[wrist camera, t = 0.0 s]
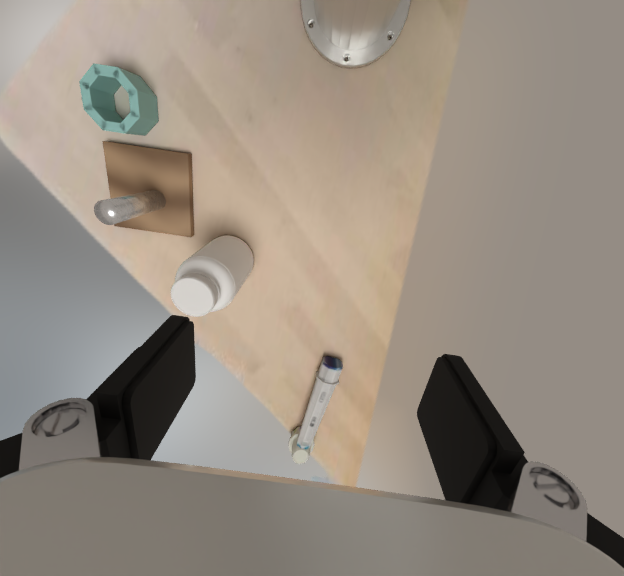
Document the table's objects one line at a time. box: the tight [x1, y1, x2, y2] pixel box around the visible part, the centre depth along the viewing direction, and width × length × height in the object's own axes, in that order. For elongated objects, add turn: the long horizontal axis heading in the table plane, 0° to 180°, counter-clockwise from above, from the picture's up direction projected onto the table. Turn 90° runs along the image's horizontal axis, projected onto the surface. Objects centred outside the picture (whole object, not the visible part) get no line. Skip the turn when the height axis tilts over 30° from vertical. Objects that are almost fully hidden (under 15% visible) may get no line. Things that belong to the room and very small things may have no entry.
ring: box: [79, 64, 158, 136], centre depth 38 cm, size 7×7×4 cm
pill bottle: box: [171, 235, 254, 317], centre depth 42 cm, size 8×8×15 cm
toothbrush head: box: [288, 356, 343, 464], centre depth 59 cm, size 5×7×25 cm
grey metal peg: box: [94, 190, 166, 225], centre depth 39 cm, size 3×3×11 cm
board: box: [103, 141, 194, 237], centre depth 44 cm, size 12×12×1 cm
